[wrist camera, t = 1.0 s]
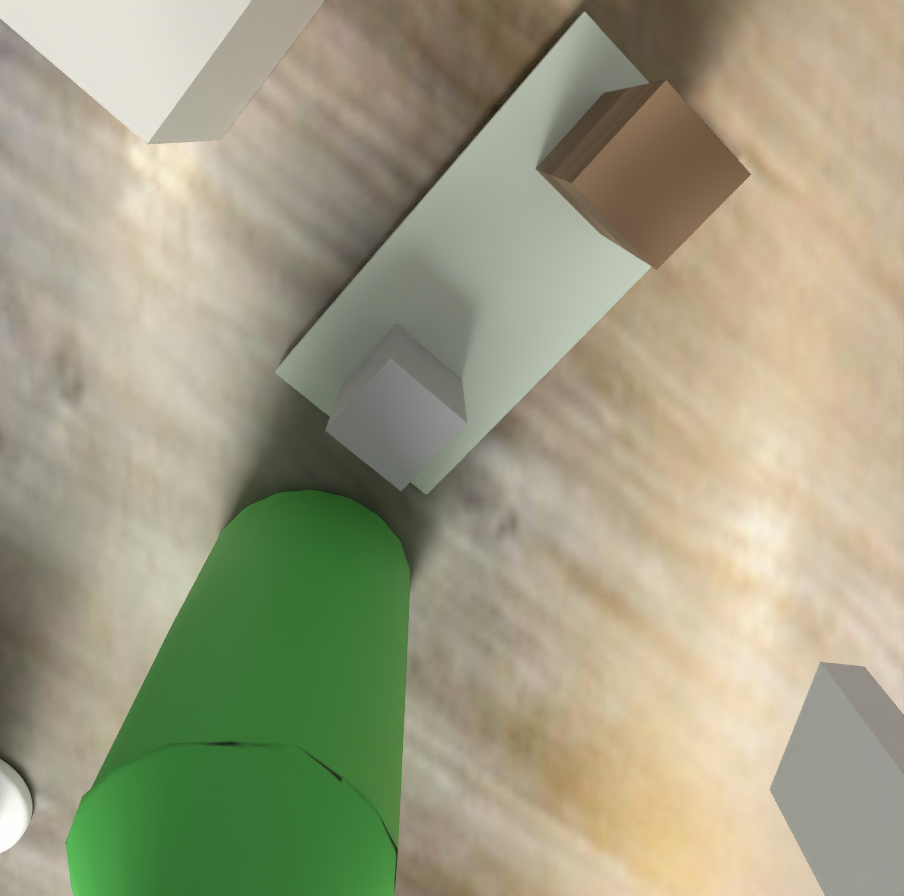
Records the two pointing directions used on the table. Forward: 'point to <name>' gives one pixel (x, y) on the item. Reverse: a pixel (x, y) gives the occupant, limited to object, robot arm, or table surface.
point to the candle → (13, 806)
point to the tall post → (643, 170)
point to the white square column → (164, 56)
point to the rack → (471, 285)
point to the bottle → (264, 720)
